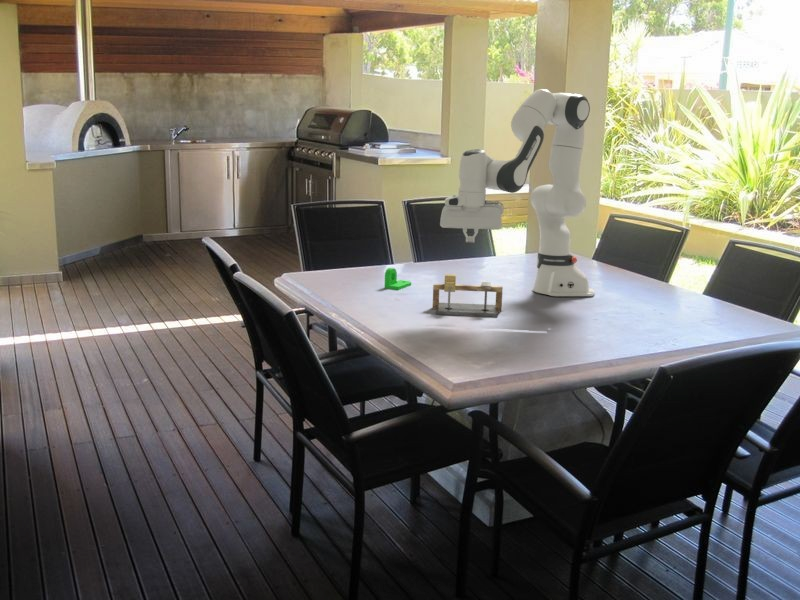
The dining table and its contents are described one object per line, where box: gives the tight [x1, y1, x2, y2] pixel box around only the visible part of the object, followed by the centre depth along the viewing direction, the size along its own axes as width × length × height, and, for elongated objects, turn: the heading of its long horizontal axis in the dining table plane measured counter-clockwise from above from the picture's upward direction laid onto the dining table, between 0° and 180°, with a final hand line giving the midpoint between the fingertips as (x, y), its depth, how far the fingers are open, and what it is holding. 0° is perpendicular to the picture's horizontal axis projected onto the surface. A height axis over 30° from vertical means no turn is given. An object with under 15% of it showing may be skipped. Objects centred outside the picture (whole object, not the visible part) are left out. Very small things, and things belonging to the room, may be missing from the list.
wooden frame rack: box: [432, 281, 504, 312], centre depth 280 cm, size 23×6×9 cm, turn 85°
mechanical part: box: [384, 267, 412, 291], centre depth 316 cm, size 12×6×8 cm, turn 151°
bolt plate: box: [435, 302, 499, 318], centre depth 281 cm, size 20×13×1 cm, turn 85°
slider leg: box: [443, 273, 457, 308], centre depth 281 cm, size 4×7×10 cm, turn 175°
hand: (470, 242), depth 278 cm, fingers closed
